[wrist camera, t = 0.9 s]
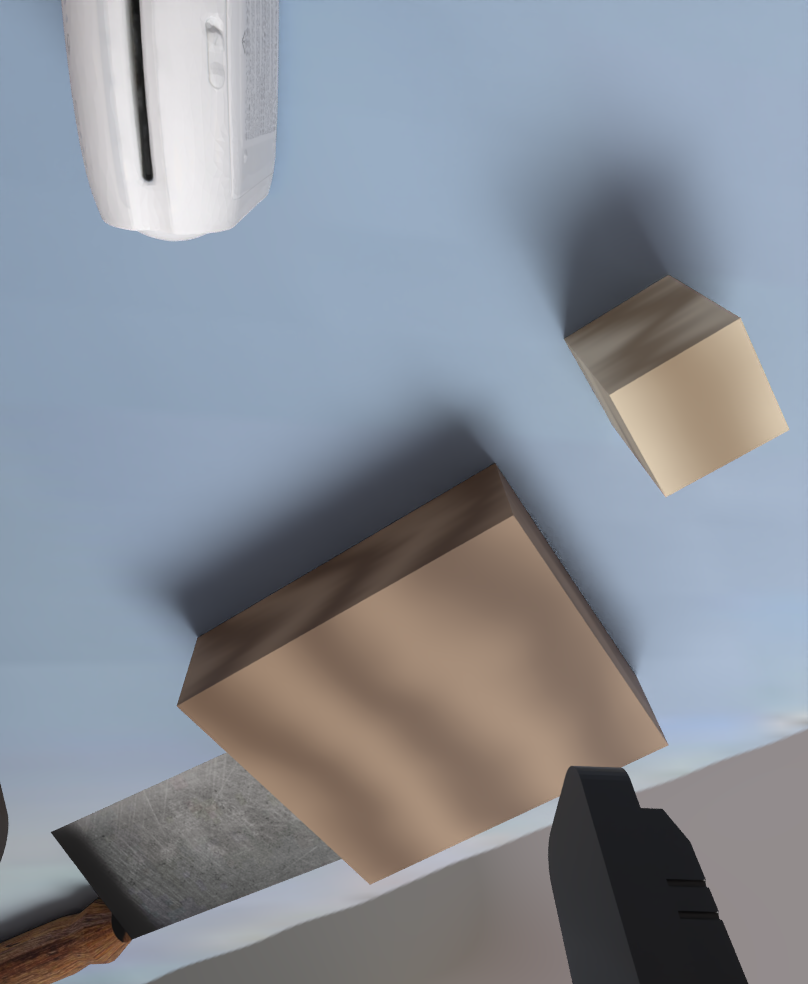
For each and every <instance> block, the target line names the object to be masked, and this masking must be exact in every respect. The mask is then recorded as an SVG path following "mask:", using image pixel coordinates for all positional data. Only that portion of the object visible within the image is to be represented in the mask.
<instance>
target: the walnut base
mask: <svg viewBox="0 0 808 984" xmlns="http://www.w3.org/2000/svg"><path fill="white" fill-rule="evenodd" d="M177 707H178V708H179V709H181V710H182V711H183V712H184V713H185V714H186V715H187V716H188V717H189V718H190V719H191V720H192V721H194V722H195V723H196V724H197V725H198V726H199V727H200V728H201V729H202V730H203V731H204V732H205V733H206V734H208V735H209V736H210V737H211V738H212V739H213V740H214V741H215V742H216V743H217V744H218V745H219V746H221V747H222V748H223V749H224V750H225V751H226V752H227V753H228V754H229V755H230V756H231V757H232V758H234V759H235V760H236V761H237V762H238V763H239V764H240V765H241V766H242V767H243V768H244V769H245V770H247V771H248V772H249V773H250V774H251V775H252V776H253V777H254V778H255V779H256V780H257V781H258V782H260V783H261V784H262V785H263V786H264V787H265V788H266V789H267V790H268V791H269V792H270V793H271V794H273V795H274V796H275V797H276V798H277V799H278V800H279V801H280V802H281V803H282V804H283V805H284V806H286V807H287V808H288V809H289V810H290V811H291V812H292V813H293V814H294V815H295V816H296V817H297V818H299V819H300V820H301V821H302V822H303V823H304V824H305V825H306V826H307V827H308V828H309V829H310V830H312V831H313V832H314V833H315V834H316V835H317V836H318V837H319V838H320V839H321V840H322V841H323V842H325V843H326V844H327V845H328V846H329V847H330V848H331V849H332V850H333V851H334V852H335V853H336V854H337V855H339V856H340V857H341V858H342V859H343V860H344V861H345V862H346V863H347V864H348V865H349V866H350V867H352V868H353V869H354V870H355V871H356V872H357V873H358V874H359V875H360V876H361V877H362V878H363V879H365V880H366V881H367V882H368V883H369V884H372V883H375V882H377V881H379V880H381V879H383V878H385V877H387V876H390V875H392V874H394V873H396V872H398V871H400V870H402V869H405V868H407V867H409V866H411V865H413V864H415V863H417V862H420V861H422V860H424V859H426V858H428V857H430V856H432V855H435V854H437V853H439V852H441V851H443V850H445V849H447V848H450V847H452V846H454V845H456V844H458V843H460V842H462V841H464V840H467V839H469V838H471V837H473V836H475V835H477V834H479V833H482V832H484V831H486V830H488V829H490V828H492V827H494V826H497V825H499V824H501V823H503V822H505V821H507V820H509V819H512V818H514V817H516V816H518V815H520V814H522V813H524V812H527V811H529V810H531V809H533V808H535V807H537V806H539V805H542V804H544V803H546V802H548V801H550V800H552V799H554V798H556V797H559V796H560V794H561V790H562V787H563V783H564V779H565V775H566V772H567V770H568V768H569V767H570V766H592V767H620V768H621V767H623V766H625V765H627V764H629V763H631V762H634V761H636V760H638V759H640V758H642V757H644V756H646V755H649V754H651V753H653V752H655V751H657V750H659V749H661V748H663V747H666V746H668V743H667V741H666V739H665V737H664V735H663V732H662V730H661V728H660V726H659V724H658V722H657V720H656V717H655V715H654V713H653V711H652V709H651V707H650V705H649V702H648V700H647V698H646V696H645V694H644V692H643V690H642V687H641V685H640V683H639V681H638V679H637V677H636V675H635V674H634V672H633V671H632V669H631V668H630V666H629V665H628V663H627V662H626V660H625V659H624V657H623V656H622V654H621V653H620V651H619V650H618V648H617V647H616V645H615V644H614V642H613V641H612V639H611V638H610V636H609V634H608V633H607V631H606V630H605V628H604V627H603V625H602V624H601V622H600V621H599V619H598V618H597V616H596V615H595V613H594V612H593V610H592V609H591V607H590V606H589V604H588V603H587V601H586V600H585V598H584V597H583V595H582V594H581V592H580V591H579V589H578V588H577V586H576V585H575V583H574V582H573V580H572V579H571V577H570V576H569V574H568V573H567V571H566V570H565V568H564V566H563V565H562V563H561V562H560V560H559V559H558V557H557V556H556V554H555V553H554V551H553V550H552V548H551V547H550V545H549V544H548V542H547V541H546V539H545V538H544V536H543V535H542V533H541V532H540V530H539V529H538V527H537V526H536V524H535V523H534V521H533V520H532V518H531V517H530V515H529V514H528V512H527V511H526V509H525V508H524V506H523V505H522V503H521V502H520V500H519V498H518V497H517V495H516V494H515V492H514V491H513V489H512V488H511V486H510V485H509V483H508V482H507V480H506V479H505V477H504V476H503V474H502V473H501V471H500V470H499V468H498V467H497V465H496V464H495V463H494V464H493V465H491V466H489V467H488V468H486V469H484V470H482V471H481V472H479V473H477V474H476V475H474V476H472V477H470V478H469V479H467V480H465V481H464V482H462V483H460V484H459V485H457V486H455V487H453V488H452V489H450V490H448V491H447V492H445V493H443V494H442V495H440V496H438V497H436V498H435V499H433V500H431V501H430V502H428V503H426V504H425V505H423V506H421V507H419V508H418V509H416V510H414V511H413V512H411V513H409V514H408V515H406V516H404V517H402V518H401V519H399V520H397V521H396V522H394V523H392V524H391V525H389V526H387V527H385V528H384V529H382V530H380V531H379V532H377V533H375V534H374V535H372V536H370V537H368V538H367V539H365V540H363V541H362V542H360V543H358V544H356V545H355V546H353V547H351V548H350V549H348V550H346V551H345V552H343V553H341V554H339V555H338V556H336V557H334V558H333V559H331V560H329V561H328V562H326V563H324V564H322V565H321V566H319V567H317V568H316V569H314V570H312V571H311V572H309V573H307V574H305V575H304V576H302V577H300V578H299V579H297V580H295V581H294V582H292V583H290V584H288V585H287V586H285V587H283V588H282V589H280V590H278V591H277V592H275V593H273V594H271V595H270V596H268V597H266V598H265V599H263V600H261V601H260V602H258V603H256V604H254V605H253V606H251V607H249V608H248V609H246V610H244V611H242V612H241V613H239V614H237V615H236V616H234V617H232V618H231V619H229V620H227V621H225V622H224V623H222V624H220V625H219V626H217V627H215V628H214V629H212V630H210V631H208V632H207V633H205V634H203V635H202V636H200V637H198V638H197V641H196V645H195V648H194V651H193V654H192V658H191V661H190V664H189V668H188V671H187V674H186V677H185V681H184V684H183V687H182V691H181V694H180V697H179V700H178V704H177Z"/></svg>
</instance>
